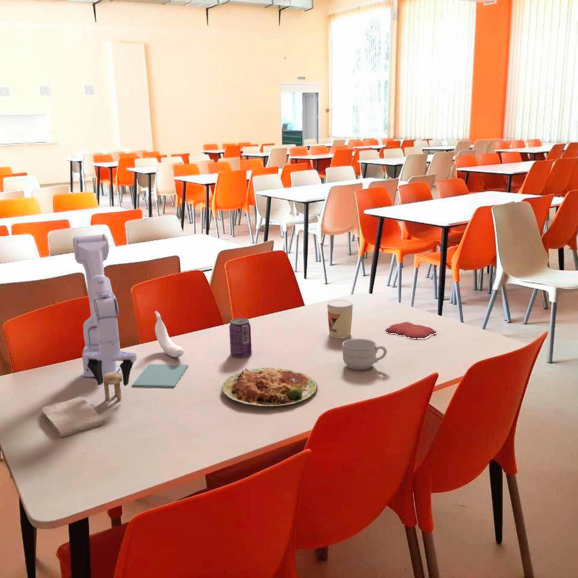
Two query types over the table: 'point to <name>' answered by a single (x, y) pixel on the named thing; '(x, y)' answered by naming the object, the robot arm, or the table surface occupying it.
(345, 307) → the coffee cup
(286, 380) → the rice dish
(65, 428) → the washcloth
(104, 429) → the table surface
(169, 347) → the banana
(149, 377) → the mat
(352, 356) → the teacup
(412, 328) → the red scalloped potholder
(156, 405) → the table surface
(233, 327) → the beverage can
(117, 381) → the tan piece
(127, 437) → the table surface
